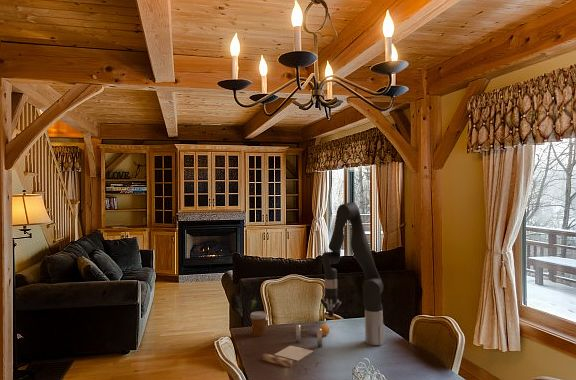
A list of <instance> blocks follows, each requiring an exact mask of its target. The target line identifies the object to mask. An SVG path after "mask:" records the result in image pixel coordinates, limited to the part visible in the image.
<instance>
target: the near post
mask: <svg viewBox="0 0 576 380" xmlns="http://www.w3.org/2000/svg"><path fill="white" fill-rule="evenodd" d="M316 344H317V345H316V347H317V348H318V349H320V348H321V349H322V348H323V335H322V329H321V328H319V327H318V328H316Z"/></svg>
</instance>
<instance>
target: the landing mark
mask: <svg viewBox="0 0 576 380" xmlns="http://www.w3.org/2000/svg"><path fill="white" fill-rule="evenodd" d="M313 352H314V350H311V349H307V348H303V347H299V346H296V345H295V346H294V345H289V346H287V347H285V348H283V349H282V350H280V351H278V352H276V353H274V354H273V355H274V356H278V357H282V358H286V359H290V360H293V361H297V362H299V361H301V360H302V359H303V358H305V357H307V356H309V355H310V354H311V353H313Z"/></svg>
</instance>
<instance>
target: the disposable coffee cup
mask: <svg viewBox="0 0 576 380" xmlns="http://www.w3.org/2000/svg"><path fill="white" fill-rule="evenodd" d="M267 316H268V314H267V313H266V312H265V311H260V310H258V311H253V312H251V313H250V315H249V318H250V321H251V328H252V335H253V336H254V337H258V336H259V337H263V336H265V334H266V333H265V332H266V324H267V323H266V322H267Z"/></svg>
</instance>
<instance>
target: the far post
mask: <svg viewBox="0 0 576 380" xmlns="http://www.w3.org/2000/svg"><path fill="white" fill-rule="evenodd" d="M301 326H302V325H301V324H300V323H297V324H295V342H296V343H297V344H300V343H301V342H302V331H301Z"/></svg>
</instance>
